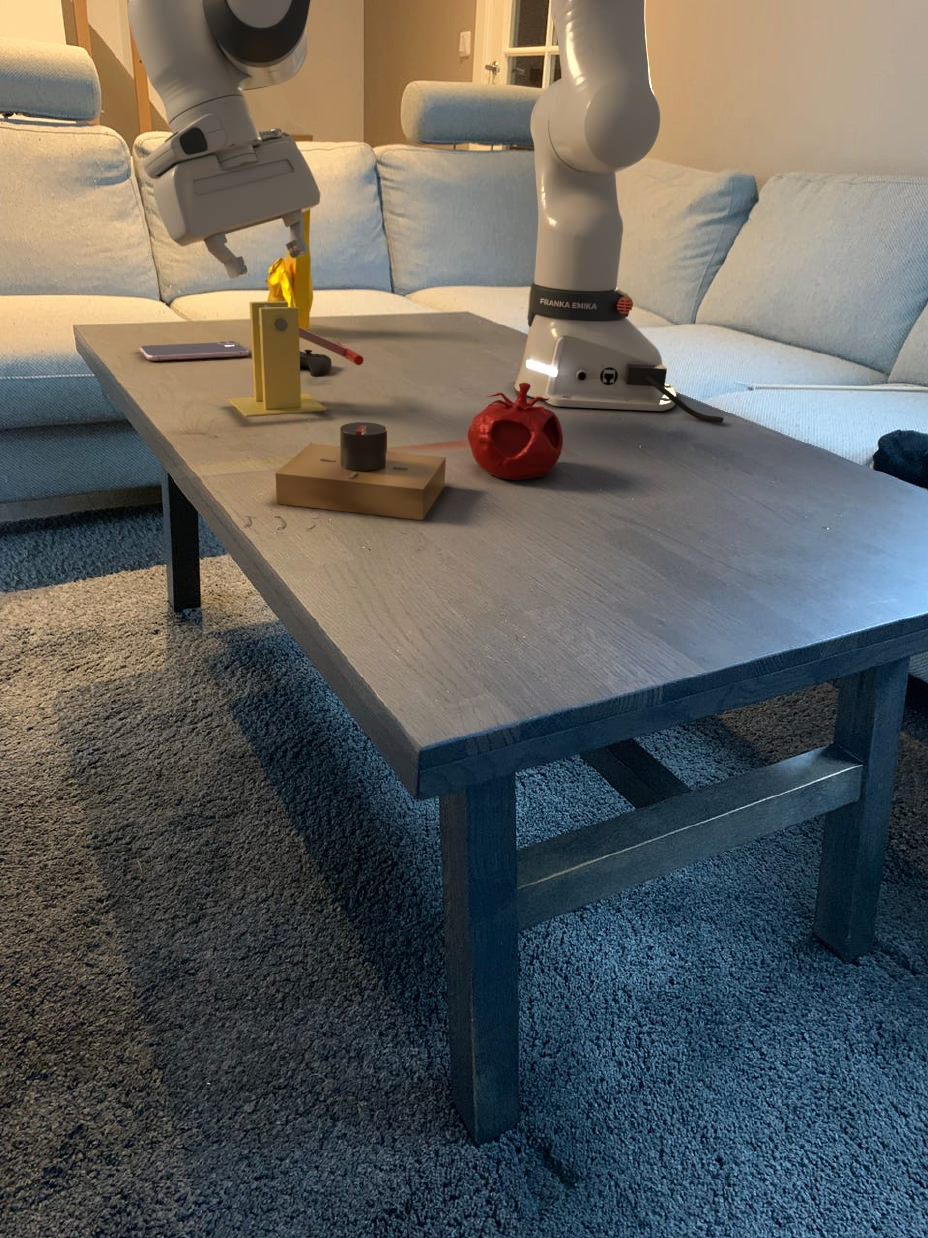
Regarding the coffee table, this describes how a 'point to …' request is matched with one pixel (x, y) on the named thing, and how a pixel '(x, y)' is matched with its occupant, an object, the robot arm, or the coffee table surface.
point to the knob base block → (361, 483)
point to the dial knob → (363, 446)
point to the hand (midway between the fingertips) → (270, 265)
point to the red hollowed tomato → (516, 437)
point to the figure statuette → (294, 280)
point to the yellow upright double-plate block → (275, 363)
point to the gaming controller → (315, 363)
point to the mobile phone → (193, 351)
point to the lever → (330, 345)
